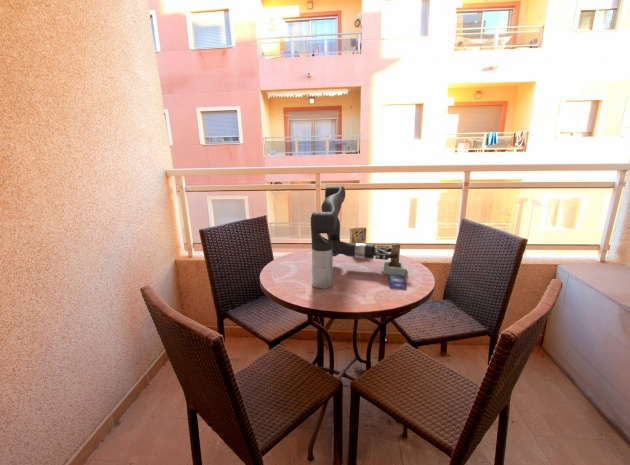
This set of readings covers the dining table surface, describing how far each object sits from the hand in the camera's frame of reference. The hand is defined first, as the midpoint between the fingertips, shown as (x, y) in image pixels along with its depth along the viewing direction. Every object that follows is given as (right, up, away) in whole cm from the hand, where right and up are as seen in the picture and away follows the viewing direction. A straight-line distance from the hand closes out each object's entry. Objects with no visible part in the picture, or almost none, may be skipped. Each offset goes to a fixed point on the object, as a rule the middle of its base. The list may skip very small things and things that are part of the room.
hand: (397, 253), depth 144 cm
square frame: (-1, -9, +3) cm, 10 cm away
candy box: (-15, -2, +32) cm, 35 cm away
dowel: (-1, -9, +3) cm, 10 cm away
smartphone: (-3, -13, -10) cm, 17 cm away
